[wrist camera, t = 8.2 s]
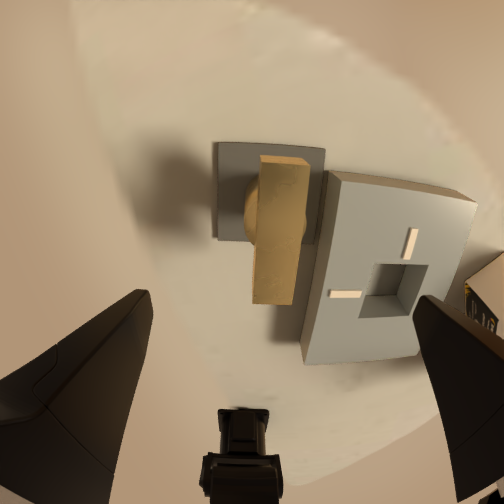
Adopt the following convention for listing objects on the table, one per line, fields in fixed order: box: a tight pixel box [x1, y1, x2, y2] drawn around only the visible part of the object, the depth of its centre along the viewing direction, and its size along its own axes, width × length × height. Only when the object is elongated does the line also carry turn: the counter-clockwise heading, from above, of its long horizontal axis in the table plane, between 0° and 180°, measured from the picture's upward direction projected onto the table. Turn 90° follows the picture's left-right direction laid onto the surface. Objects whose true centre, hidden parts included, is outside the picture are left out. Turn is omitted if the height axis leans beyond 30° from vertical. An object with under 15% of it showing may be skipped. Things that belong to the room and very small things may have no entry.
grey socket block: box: [300, 171, 478, 365], centre depth 21 cm, size 16×12×3 cm
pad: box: [218, 142, 326, 244], centre depth 19 cm, size 7×7×1 cm
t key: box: [244, 155, 311, 305], centre depth 16 cm, size 3×7×7 cm, turn 177°
